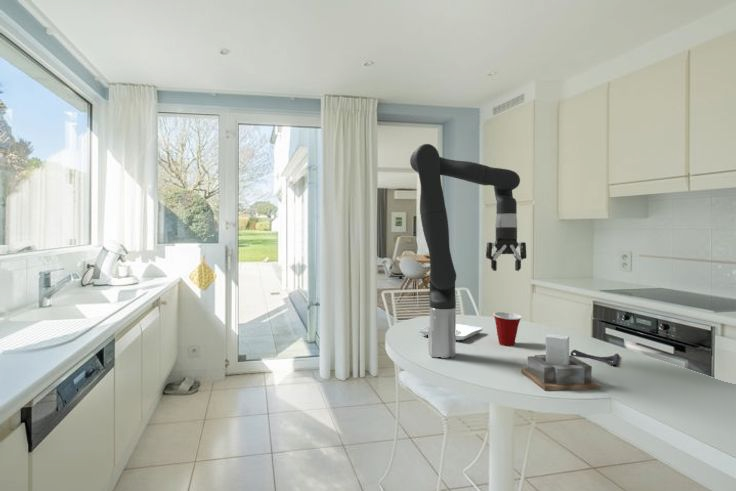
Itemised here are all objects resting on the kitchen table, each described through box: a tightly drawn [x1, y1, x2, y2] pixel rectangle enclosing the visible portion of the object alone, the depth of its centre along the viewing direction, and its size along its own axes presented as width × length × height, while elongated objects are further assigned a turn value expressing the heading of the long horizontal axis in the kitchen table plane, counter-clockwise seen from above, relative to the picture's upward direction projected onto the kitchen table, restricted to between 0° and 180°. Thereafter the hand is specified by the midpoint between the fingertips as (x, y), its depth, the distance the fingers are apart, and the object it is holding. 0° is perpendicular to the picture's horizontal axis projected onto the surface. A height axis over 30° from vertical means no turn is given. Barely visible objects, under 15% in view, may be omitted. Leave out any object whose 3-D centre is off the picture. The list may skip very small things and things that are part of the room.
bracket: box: [570, 349, 620, 368], centre depth 152 cm, size 14×15×3 cm
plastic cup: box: [492, 311, 523, 347], centre depth 171 cm, size 11×11×12 cm
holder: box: [520, 354, 601, 391], centre depth 130 cm, size 16×16×6 cm
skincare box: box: [545, 333, 570, 366], centre depth 130 cm, size 6×4×12 cm
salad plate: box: [418, 323, 484, 341], centre depth 187 cm, size 21×21×3 cm
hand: (506, 270), depth 159 cm, fingers open, 8 cm apart
